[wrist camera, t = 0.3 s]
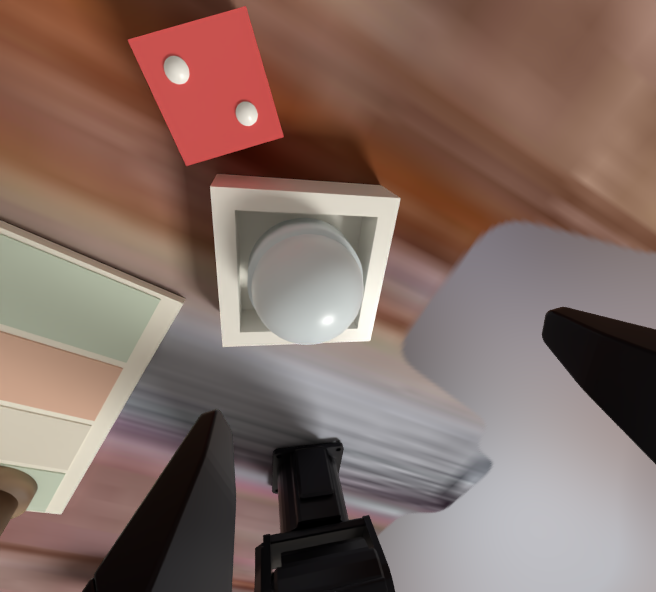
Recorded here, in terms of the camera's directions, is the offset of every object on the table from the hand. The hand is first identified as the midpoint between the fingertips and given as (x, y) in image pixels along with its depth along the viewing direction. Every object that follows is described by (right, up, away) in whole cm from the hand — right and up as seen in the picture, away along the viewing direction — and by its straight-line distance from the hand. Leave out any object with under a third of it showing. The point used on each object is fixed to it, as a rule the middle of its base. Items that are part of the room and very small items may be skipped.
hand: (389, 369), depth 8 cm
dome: (-3, +4, +10) cm, 11 cm away
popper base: (-3, +4, +11) cm, 13 cm away
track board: (-21, -5, +13) cm, 26 cm away
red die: (-7, +11, +6) cm, 15 cm away
